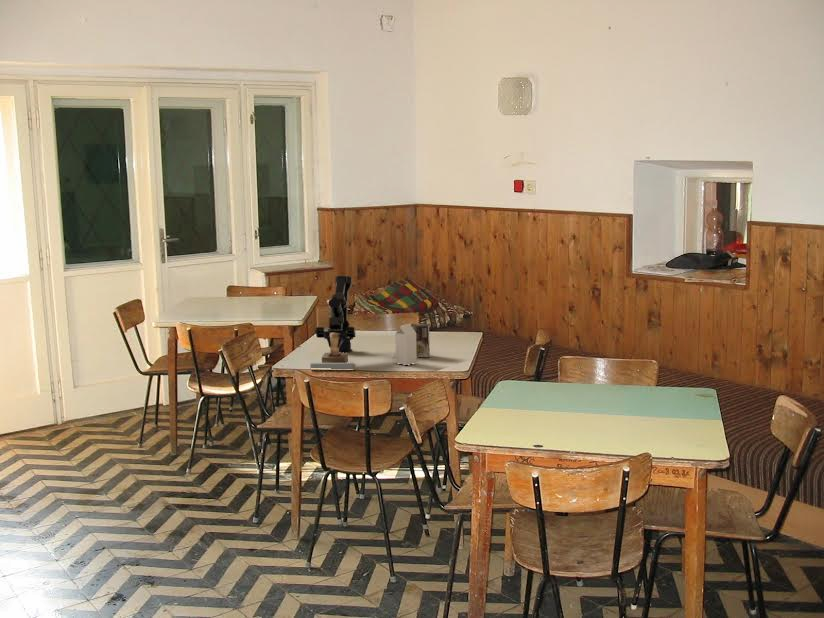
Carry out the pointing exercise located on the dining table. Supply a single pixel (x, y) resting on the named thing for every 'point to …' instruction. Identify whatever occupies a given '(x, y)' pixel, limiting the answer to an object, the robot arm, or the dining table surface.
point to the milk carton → (405, 345)
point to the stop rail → (333, 365)
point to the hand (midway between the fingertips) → (334, 347)
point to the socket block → (335, 358)
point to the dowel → (334, 344)
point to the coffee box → (422, 339)
